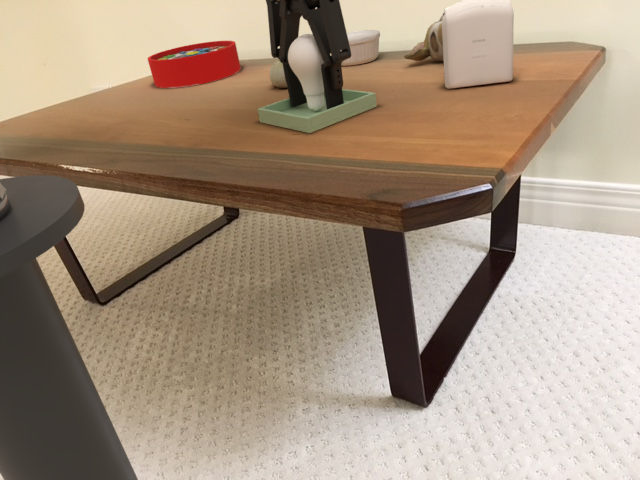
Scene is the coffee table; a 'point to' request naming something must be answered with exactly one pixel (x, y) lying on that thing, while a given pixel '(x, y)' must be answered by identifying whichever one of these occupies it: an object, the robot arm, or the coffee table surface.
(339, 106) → the tray
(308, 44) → the lightbulb
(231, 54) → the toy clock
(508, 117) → the coffee table surface
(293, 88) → the robot arm
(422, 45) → the ceramic sculpture
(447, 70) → the photo printer
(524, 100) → the coffee table surface
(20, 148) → the coffee table surface
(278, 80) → the sea urchin shell
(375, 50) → the ramekin
